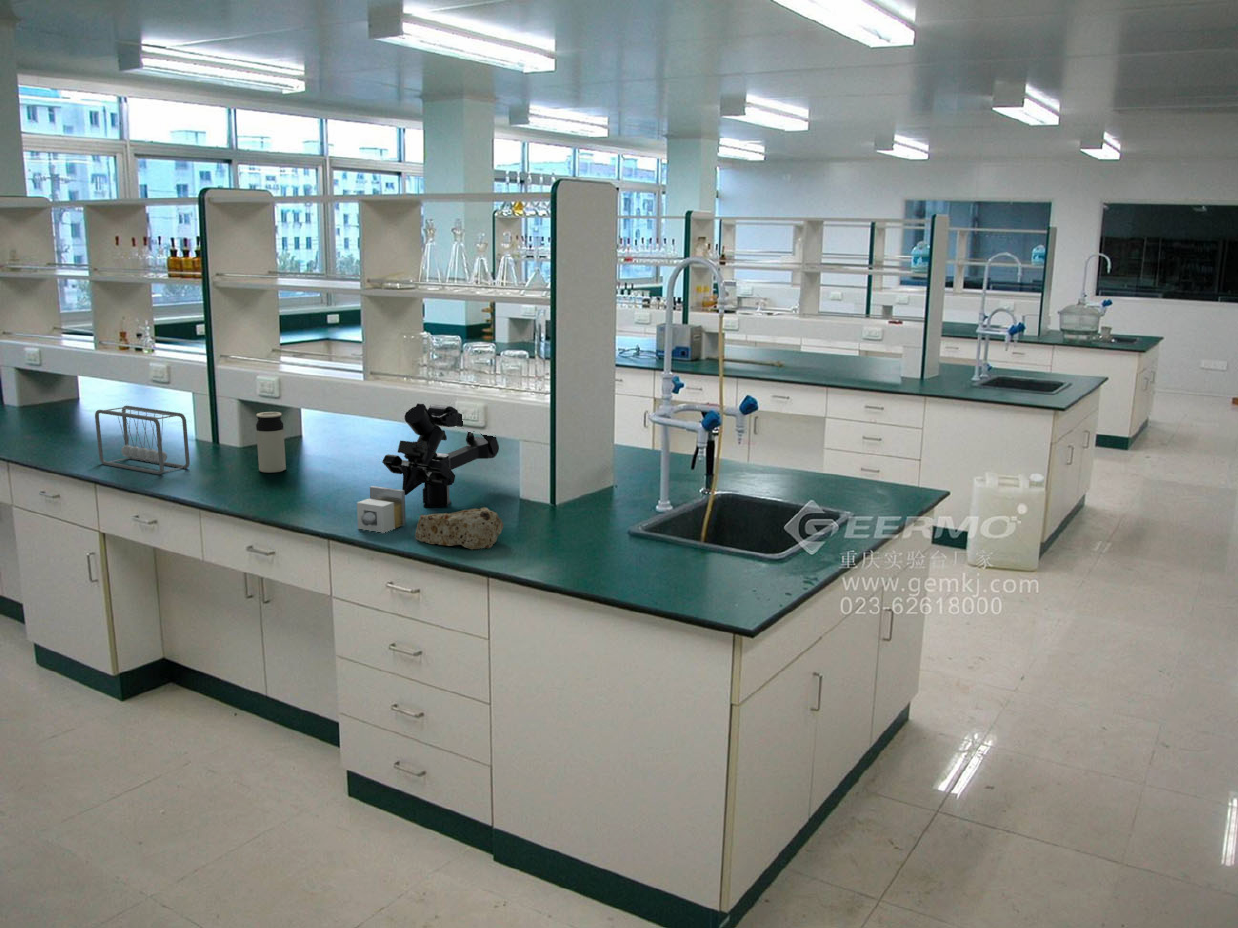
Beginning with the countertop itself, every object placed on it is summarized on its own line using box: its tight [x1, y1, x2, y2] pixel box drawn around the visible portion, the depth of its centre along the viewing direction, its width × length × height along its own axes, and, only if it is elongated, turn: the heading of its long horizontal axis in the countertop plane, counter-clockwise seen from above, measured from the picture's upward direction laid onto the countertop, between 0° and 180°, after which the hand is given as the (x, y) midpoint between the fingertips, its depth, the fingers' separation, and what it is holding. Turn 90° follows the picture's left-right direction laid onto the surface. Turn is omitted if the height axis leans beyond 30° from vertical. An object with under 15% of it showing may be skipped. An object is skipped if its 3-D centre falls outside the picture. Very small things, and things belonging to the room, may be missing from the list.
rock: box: [414, 507, 504, 551], centre depth 244 cm, size 21×14×10 cm
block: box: [356, 498, 396, 534], centre depth 252 cm, size 4×8×7 cm, turn 65°
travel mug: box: [255, 411, 287, 474], centre depth 311 cm, size 8×8×18 cm
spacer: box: [394, 504, 402, 529], centre depth 255 cm, size 2×9×6 cm, turn 66°
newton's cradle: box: [94, 405, 191, 475], centre depth 313 cm, size 30×10×18 cm, turn 62°
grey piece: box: [361, 485, 407, 527], centre depth 252 cm, size 9×10×9 cm
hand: (404, 494), depth 262 cm, fingers closed
